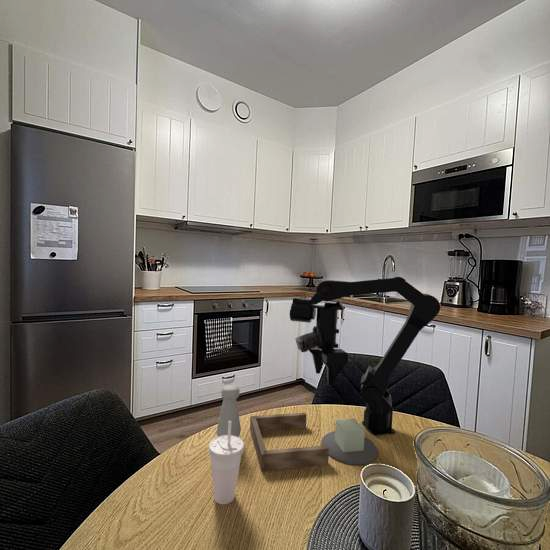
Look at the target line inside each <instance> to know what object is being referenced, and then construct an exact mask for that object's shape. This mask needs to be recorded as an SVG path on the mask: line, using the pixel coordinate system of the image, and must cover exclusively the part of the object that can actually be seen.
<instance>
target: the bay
mask: <svg viewBox="0 0 550 550" xmlns="http://www.w3.org/2000/svg"><path fill="white" fill-rule="evenodd" d="M306 428H307V413H306V412H297V413H295V412H293V413H292V412H291V413H281V414H280V413H278V414H276V413H275V414H264V415H263V414H262V415H251V416H250V421H249V432H250V435H251V439H252V442H253V446H254V450H255V454H256V458H257V461H258V465H259V469H260V472H266V471H267V472H268V471H277V470H286V469H295V468H296V469H297V468H305V467H314V466H323V465H329V458H330V456H329V448H328V446H327V445H323V446H321V445H316V446H315V445H314V446H313V445H312V446H303V447H290V448H280V449H269V450H268V449H266V446H265V442H264V440H263V436H262V433H261V432H267V431H268V432H269V431H282V430H283V431H285V430H295V429H297V430H298V429H306Z"/></svg>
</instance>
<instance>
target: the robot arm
mask: <svg viewBox="0 0 550 550" xmlns="http://www.w3.org/2000/svg"><path fill="white" fill-rule="evenodd" d="M315 289H316V292H315V293H314V295H313V296H311V298H310V299H305V298H301V297H300V298H299V297H294V298H292V303H291V306H290V310H289V319H290V321H291V322H298V323H300V322H301V323H308V324H310V323H311V322H312V320H313V321H315V319H316V321H315V323H316V324H315V325H314V326H313V327H312V332H307V333H305V334H302V335H299V336H297V337H295V338H294V339H295V343H296V346H297V349H298V350H299V351H300V352H301V353H306V352H308V351H309V353H310V354H311V356H312V360H313V364H314V368H315V369H314V370H315V374H317V375H318V374H321V372H322V369H323V367H324V365H325V367H326V378H327V379H326V380H327V385H328V386H333V384H334V382H335V381H336V379H337V378H338V375H339V374H340V372H341V371H342V370H343V368H344V367H345V366H346V365H347V364H349V363H350V354H348V353H347V352H346V351H345V350H343V349H342V348H339V343H337V334H340V329H339V328H337V327H338V326H337V325H338V324H337V323H338V311H344V309H345V306H344V305H343V304H342V303H341V301H340V300H338V299H343V298H346V297H350V296H356V295H358V296H359V295H368V294H382V293H383V294H384V293H397V294H399V295H400V296H401V297H403V298H404V299H405V300H407V301H408V302H409V303H410V306H409V310H408V313H407V316H406V319H405V322H404V323H403V325H402V327H401V328H400V329H399V330H398V333H397V334H396V336H395V337H394V338H393V340H392V342H391V344H390V345H389V347H388V349H387V350H386V352H385V354H384V355H383V357H382V358H381V360H380V361H379V362H378V364H377V365H375V366H374V367H372V366H371V365H370V364H369V365H368V367H367V369H366V372H365V373H363V375H362V376H361V378H360V385H361V387H360V394H361V397H362V398H363V399H364V401H366V402H367V403H365V409H364V411H363V420H362V421H361V424H362V425H363V426H364V427H365V428H366V429H367V430H368V431H369V432H370V433H371V434H372V436H379V435H393V434H396V430H395V429H394V428H393V413H394V406H392V404H393V403H392V395H391V393H390V392H389V391H388V386H389V382H390V379H391V377H392V374H393V372H395V370H396V368H397V367H398V365H399V364H400V362H401V361H402V360H403V357H404V356H405V355H406V353H407V351H408V350H409V349H410V347H411V345H412V344H413V342H414V340H415V339H416V337H417V336H418V334H419V333H420V331H421V330H423V329H424V328H426V326H428V324H430V323H431V322H432V321H433V320H434V319H435V318H436V316H438V315H439V313H440V311H441V307H442V306H441V303H440V300H439V299H438V298H437V297H435V296H434V295H431V294H428V293H422V292H421V291H420V290H419V289H417V288H415V286H413V285H412V284H410V283H409V282H408V281H407V280H406V279H404V278H403V277H401V276H395V277H389V278H376V279H369V280H357V281H345V280H334V279H333V280H332V279H328V280H327V279H326V280H323V281H320V282H319V283H318V284H317V286H316V288H315ZM335 300H337V302H330V301H335ZM322 302H325V303H324V305H323V304H322V305H319V304H320V303H322Z"/></svg>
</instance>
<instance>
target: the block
mask: <svg viewBox="0 0 550 550" xmlns="http://www.w3.org/2000/svg"><path fill="white" fill-rule="evenodd" d="M334 428H335V430H334V431H335V441H336V442H337V444H338V445H339V447H340V448H341V449H342V451H343V452H353V451H363V450H364V437H365V436H366V435H365V433H366V430H365V428H364V427H363V426H362V425H361V424H360V423H359V422H358V420H356V419H355V418H349V419H348V418H347V419H344V418H343V419H336V420H335V427H334Z"/></svg>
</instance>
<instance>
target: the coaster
mask: <svg viewBox="0 0 550 550" xmlns="http://www.w3.org/2000/svg"><path fill="white" fill-rule="evenodd" d="M323 445H327V446H328V448H329V458H332V460H333V459H334V460H336V461H338V462H340V463H344V464H346V465H352V466H353V465H354V466H363V465H368V464H371V463H372V462H374V461H375V460H376V459H377V457H378V452H379V450H378V448H377V446H376V444H375V443H374V441H372V440H371V439H369V438H368V437H366V436H364V450H363V451H353V452H343V451H342V449H341V448H340V447H339V445H338V444H337V442H336V441H335V430H334V431H331V432H327V433H326V434H324V435H323V436H322V438H321V445H320V446H323Z"/></svg>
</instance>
